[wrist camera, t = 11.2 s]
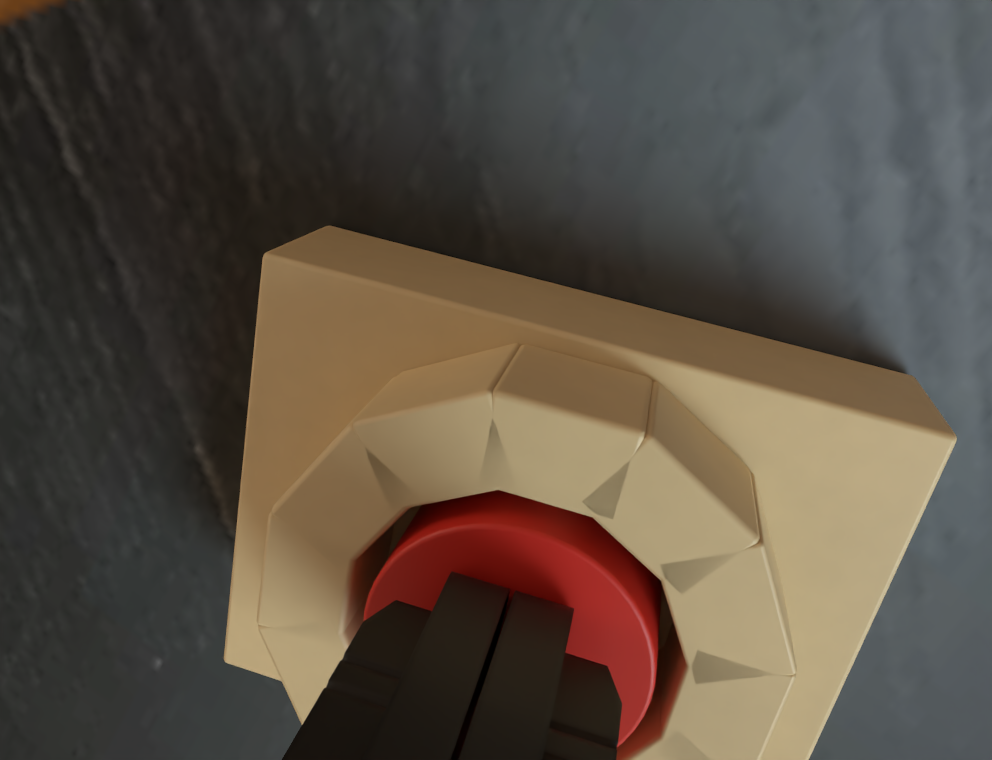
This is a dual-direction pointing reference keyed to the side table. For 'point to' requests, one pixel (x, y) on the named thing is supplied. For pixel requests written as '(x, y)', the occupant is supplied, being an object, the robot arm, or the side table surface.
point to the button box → (575, 474)
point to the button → (538, 579)
